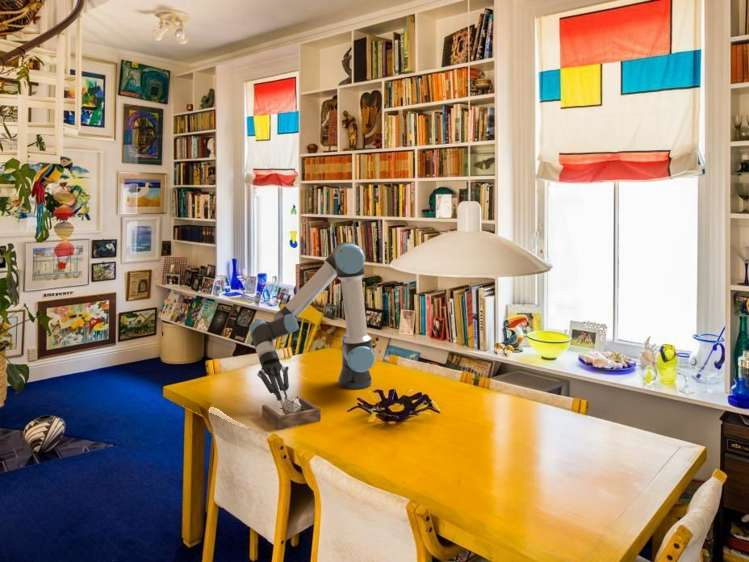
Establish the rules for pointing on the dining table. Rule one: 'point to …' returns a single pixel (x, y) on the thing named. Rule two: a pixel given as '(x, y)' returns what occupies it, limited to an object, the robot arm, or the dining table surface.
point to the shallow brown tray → (292, 415)
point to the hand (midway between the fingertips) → (285, 407)
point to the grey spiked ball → (291, 406)
